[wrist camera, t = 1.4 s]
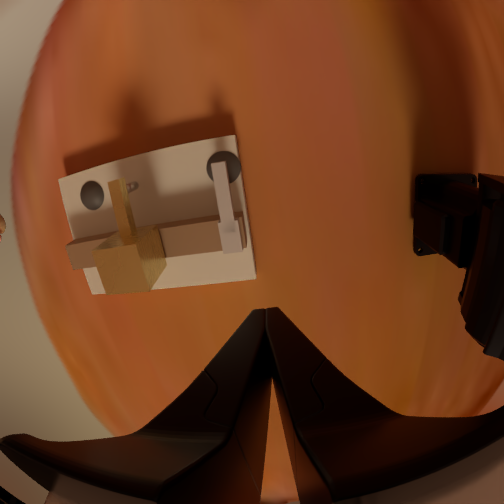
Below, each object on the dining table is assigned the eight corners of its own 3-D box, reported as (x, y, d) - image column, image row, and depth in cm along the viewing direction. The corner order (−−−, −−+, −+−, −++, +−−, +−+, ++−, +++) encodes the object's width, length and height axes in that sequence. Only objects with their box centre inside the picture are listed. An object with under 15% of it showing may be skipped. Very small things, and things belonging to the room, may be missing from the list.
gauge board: (237, 134, 18) (233, 133, 15) (257, 271, 22) (257, 293, 19) (66, 176, 19) (42, 184, 16) (98, 287, 23) (80, 307, 20)
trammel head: (153, 168, 18) (120, 180, 13) (173, 256, 20) (149, 291, 15) (115, 178, 18) (75, 192, 13) (136, 260, 20) (106, 294, 15)
